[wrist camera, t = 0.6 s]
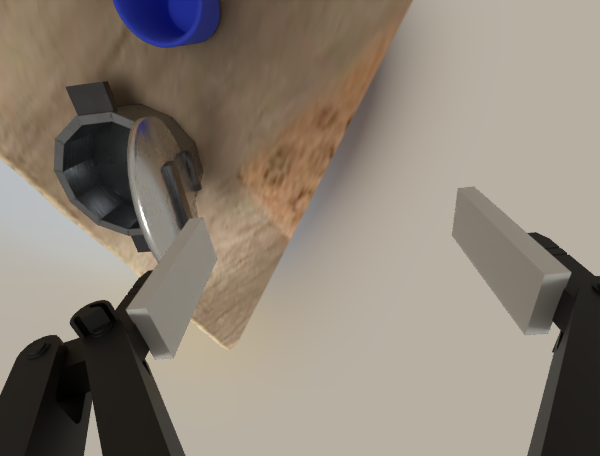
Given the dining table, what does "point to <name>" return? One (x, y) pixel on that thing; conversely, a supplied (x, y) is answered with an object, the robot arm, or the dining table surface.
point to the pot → (109, 158)
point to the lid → (158, 184)
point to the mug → (170, 20)
